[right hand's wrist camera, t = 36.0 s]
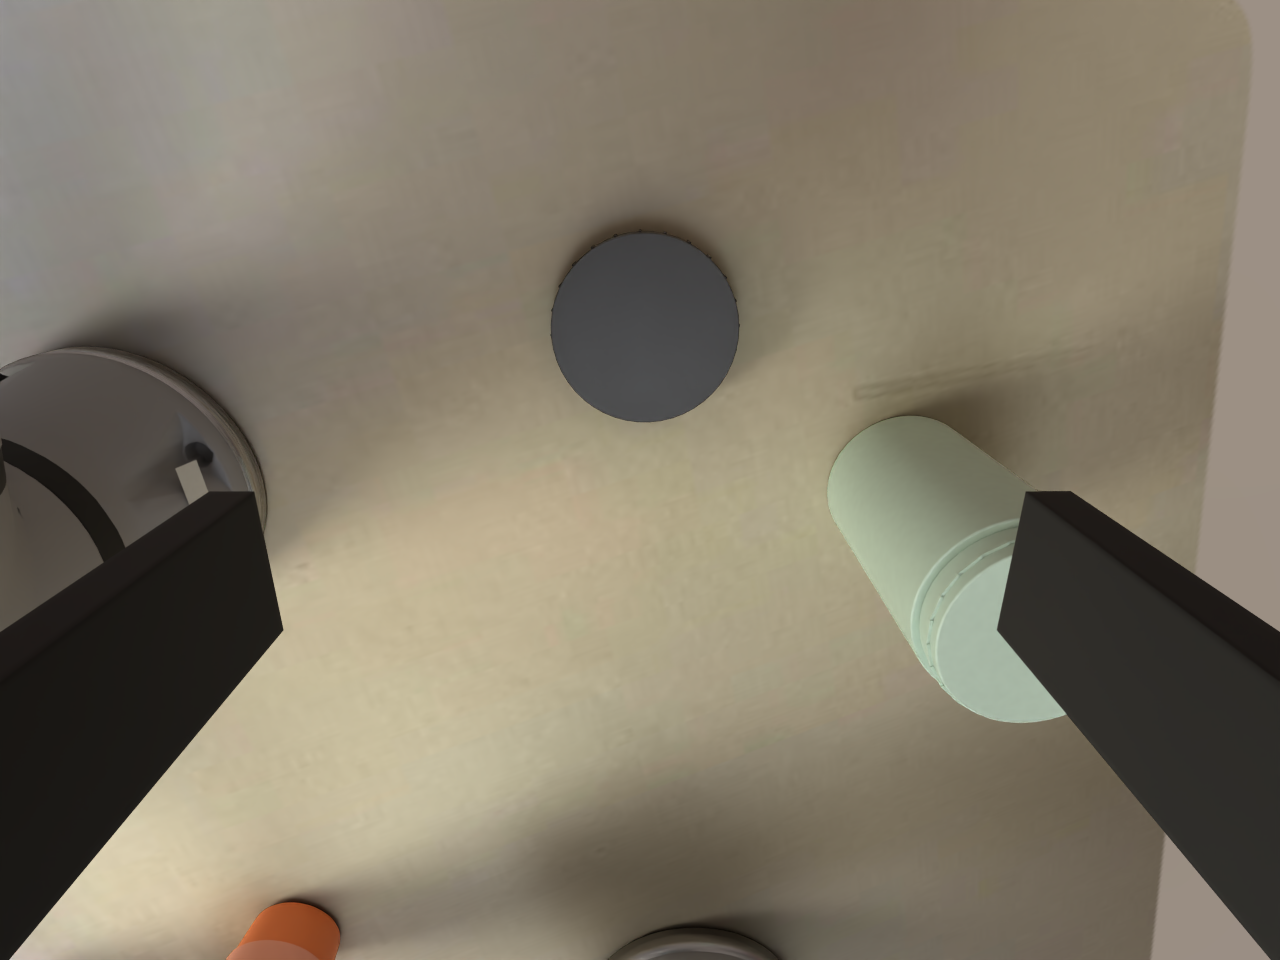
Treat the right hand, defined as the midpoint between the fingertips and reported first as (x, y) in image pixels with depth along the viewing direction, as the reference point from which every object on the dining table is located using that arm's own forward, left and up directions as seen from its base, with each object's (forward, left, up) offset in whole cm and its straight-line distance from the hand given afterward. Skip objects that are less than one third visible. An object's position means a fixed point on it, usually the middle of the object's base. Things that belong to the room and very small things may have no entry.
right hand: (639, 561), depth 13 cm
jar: (-3, -17, -26) cm, 31 cm away
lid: (0, 0, -24) cm, 24 cm away
